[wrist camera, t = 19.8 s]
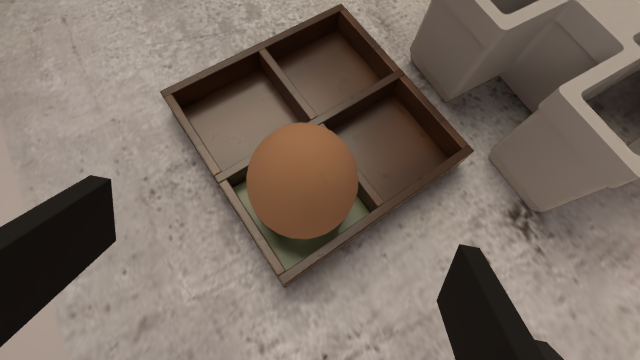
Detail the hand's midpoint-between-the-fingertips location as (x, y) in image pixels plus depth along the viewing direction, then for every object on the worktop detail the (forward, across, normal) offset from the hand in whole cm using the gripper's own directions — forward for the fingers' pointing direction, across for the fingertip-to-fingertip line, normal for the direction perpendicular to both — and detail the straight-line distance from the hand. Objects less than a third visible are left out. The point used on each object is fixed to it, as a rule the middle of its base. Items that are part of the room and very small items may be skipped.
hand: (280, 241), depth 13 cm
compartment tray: (+15, 0, 0) cm, 15 cm away
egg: (+10, 0, -4) cm, 11 cm away
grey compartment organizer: (+23, +22, +8) cm, 33 cm away
